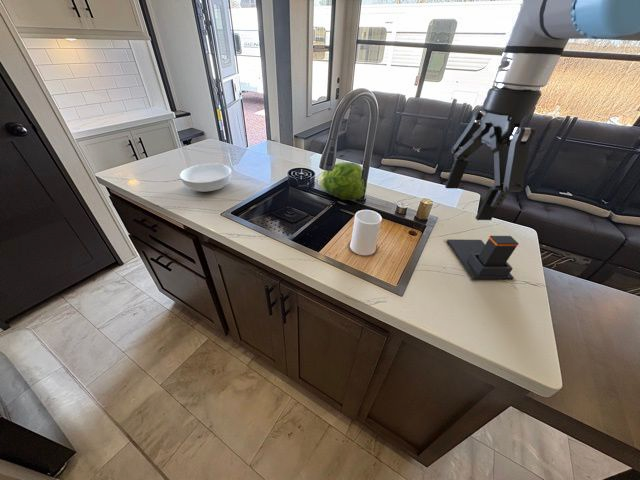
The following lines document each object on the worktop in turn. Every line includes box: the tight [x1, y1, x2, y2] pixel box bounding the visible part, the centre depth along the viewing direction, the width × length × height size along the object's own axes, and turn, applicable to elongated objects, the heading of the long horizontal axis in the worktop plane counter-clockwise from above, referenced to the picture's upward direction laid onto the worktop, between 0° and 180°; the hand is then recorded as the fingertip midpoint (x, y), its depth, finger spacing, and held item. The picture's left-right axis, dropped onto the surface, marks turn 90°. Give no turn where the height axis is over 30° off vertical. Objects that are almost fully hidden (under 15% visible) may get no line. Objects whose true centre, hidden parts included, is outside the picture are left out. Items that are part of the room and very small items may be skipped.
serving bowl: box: [179, 162, 233, 192], centre depth 111 cm, size 21×21×7 cm
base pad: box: [446, 239, 514, 281], centre depth 80 cm, size 18×12×4 cm, turn 2°
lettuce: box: [317, 161, 368, 201], centre depth 108 cm, size 16×21×15 cm
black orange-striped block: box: [477, 235, 519, 267], centre depth 74 cm, size 4×6×11 cm, turn 92°
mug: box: [349, 209, 383, 256], centre depth 81 cm, size 12×8×12 cm
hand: (465, 202), depth 54 cm, fingers open, 13 cm apart
